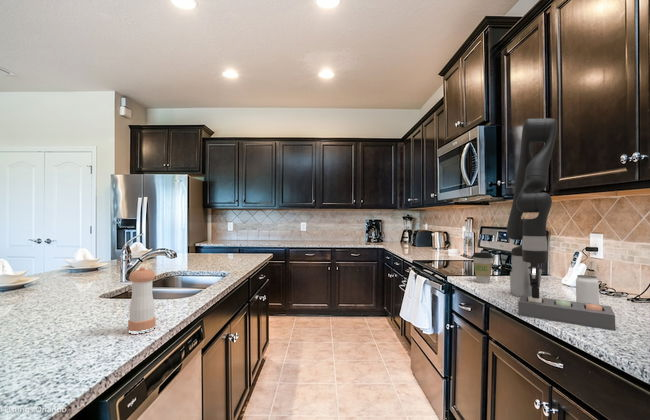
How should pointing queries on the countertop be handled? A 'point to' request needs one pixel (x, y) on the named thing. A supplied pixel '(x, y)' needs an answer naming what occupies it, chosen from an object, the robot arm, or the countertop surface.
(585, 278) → the grey block
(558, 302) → the button sage
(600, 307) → the button terracotta
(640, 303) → the countertop surface
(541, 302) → the button cream
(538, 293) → the robot arm
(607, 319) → the panel
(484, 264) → the coffee cup
